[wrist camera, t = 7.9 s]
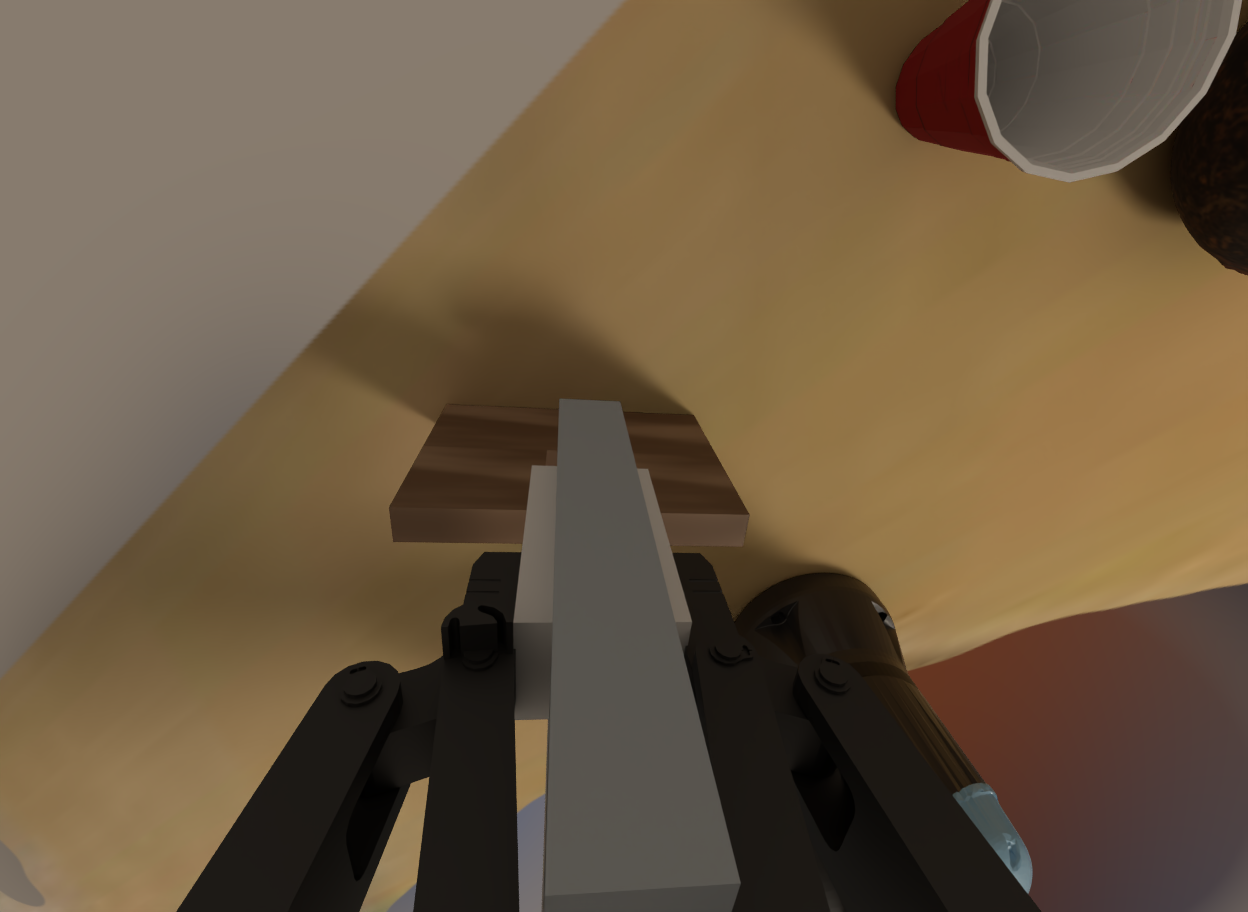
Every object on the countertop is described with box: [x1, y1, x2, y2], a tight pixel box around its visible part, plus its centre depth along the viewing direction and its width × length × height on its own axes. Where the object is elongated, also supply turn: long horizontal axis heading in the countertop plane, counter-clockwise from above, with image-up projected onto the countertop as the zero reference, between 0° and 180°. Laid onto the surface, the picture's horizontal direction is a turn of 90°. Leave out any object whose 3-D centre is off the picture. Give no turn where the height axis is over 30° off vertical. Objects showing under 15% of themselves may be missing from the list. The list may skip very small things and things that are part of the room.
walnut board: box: [389, 404, 750, 547], centre depth 34 cm, size 2×18×14 cm, turn 85°
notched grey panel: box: [542, 399, 741, 912], centre depth 16 cm, size 18×2×14 cm, turn 175°
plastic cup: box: [896, 0, 1242, 182], centre depth 28 cm, size 11×11×12 cm
